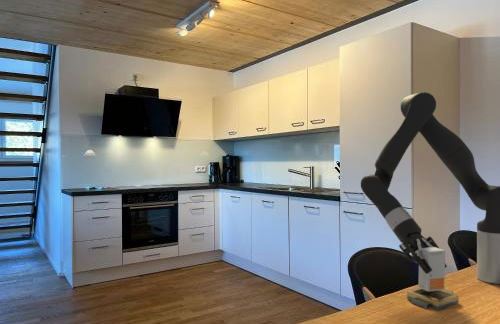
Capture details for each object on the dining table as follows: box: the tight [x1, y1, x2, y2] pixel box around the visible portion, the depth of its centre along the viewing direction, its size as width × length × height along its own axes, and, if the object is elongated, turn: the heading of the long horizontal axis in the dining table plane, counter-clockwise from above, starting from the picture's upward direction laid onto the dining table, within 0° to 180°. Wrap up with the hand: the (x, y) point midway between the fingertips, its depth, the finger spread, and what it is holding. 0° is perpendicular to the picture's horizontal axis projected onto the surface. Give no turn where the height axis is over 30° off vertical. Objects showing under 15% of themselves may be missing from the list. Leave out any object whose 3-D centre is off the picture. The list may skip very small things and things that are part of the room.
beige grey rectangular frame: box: [406, 287, 460, 312], centre depth 109 cm, size 13×10×2 cm
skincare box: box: [418, 247, 446, 292], centre depth 109 cm, size 6×4×12 cm
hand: (436, 270), depth 107 cm, fingers closed on skincare box, 6 cm apart
